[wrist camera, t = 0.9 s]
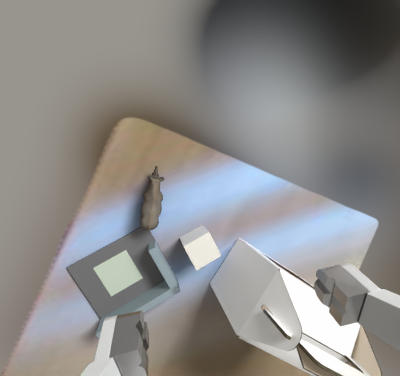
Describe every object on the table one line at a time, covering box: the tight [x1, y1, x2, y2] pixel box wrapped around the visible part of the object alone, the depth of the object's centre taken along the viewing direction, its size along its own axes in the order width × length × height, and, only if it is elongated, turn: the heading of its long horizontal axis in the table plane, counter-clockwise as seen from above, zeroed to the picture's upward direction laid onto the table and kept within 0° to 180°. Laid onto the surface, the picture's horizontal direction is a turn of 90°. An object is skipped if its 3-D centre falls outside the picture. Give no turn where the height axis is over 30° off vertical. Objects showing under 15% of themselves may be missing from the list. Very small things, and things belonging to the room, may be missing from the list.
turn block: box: [180, 225, 221, 271], centre depth 48 cm, size 6×6×6 cm
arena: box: [67, 227, 180, 339], centre depth 46 cm, size 15×18×5 cm
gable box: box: [210, 238, 382, 376], centre depth 42 cm, size 22×13×28 cm, turn 56°
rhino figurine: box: [140, 166, 164, 231], centre depth 45 cm, size 4×14×6 cm, turn 171°
